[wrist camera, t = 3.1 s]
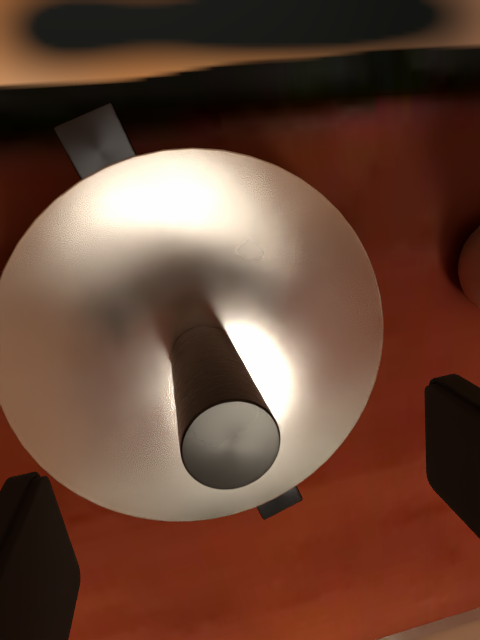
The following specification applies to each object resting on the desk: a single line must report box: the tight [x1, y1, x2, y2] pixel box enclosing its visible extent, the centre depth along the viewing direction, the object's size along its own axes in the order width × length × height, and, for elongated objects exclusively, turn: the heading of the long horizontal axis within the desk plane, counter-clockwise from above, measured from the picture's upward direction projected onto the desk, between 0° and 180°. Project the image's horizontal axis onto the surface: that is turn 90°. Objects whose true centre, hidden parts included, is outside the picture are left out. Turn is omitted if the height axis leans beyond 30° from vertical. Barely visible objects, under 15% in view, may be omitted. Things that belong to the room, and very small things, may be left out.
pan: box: [54, 103, 302, 520], centre depth 21 cm, size 16×21×6 cm
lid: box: [0, 147, 383, 521], centre depth 15 cm, size 17×17×8 cm
